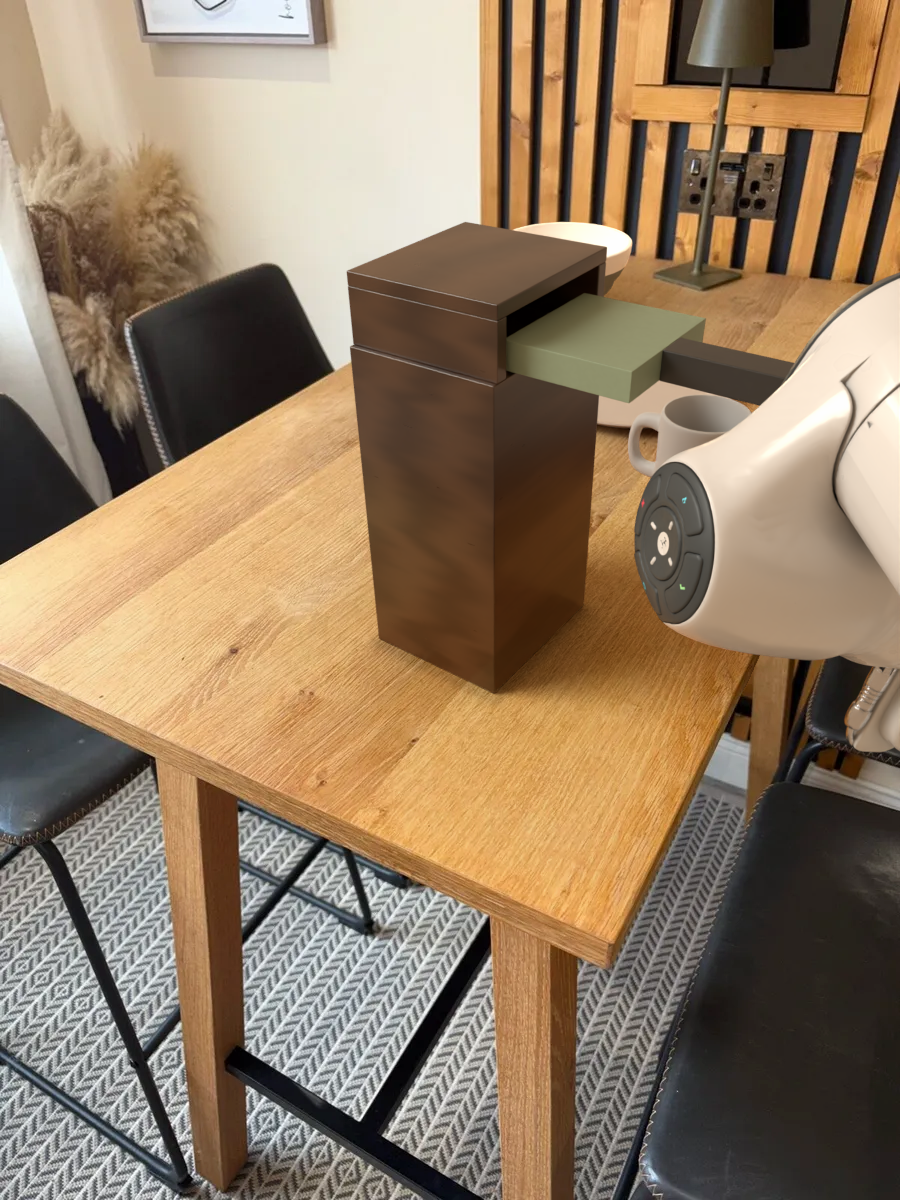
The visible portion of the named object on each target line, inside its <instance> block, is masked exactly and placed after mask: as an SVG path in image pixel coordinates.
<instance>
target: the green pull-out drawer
mask: <svg viewBox="0 0 900 1200" xmlns="http://www.w3.org/2000/svg"><path fill="white" fill-rule="evenodd" d="M706 321H707V318H706V317H701V316H697V315H692V314H689V313H688V314H687V313H682V312H678V311H673V310H668V309H665V308H664V309H663V308H658V307H654V306H649V305H645V304H640V303H636V302H635V303H634V302H631V301H630V302H629V301H624V300H619V299H615V298H611V297H606V296H604V297H601V296H596V295H592V294H587V293H583V294H582V295H580V296H578V297H576V298H575V299H573V300H571V301H569V302H568V303H566V304H564V305H563V306H561V307H559V308H557V309H556V310H554V311H552V312H550V313H549V314H547V315H545V316H543V317H542V318H540V319H538V320H536V321H535V322H533V323H531V324H529V325H528V326H526V327H524V328H522V329H521V330H519V331H517V332H516V333H514V334H512V335H510V336H509V337H507V338H506V371H510V372H513V373H517V374H521V375H524V376H528V377H532V378H536V379H539V380H543V381H547V382H551V383H554V384H558V385H562V386H566V387H569V388H573V389H577V390H580V391H584V392H588V393H592V394H595V395H599V396H603V397H607V398H610V399H614V400H618V401H622V402H625V403H631V402H632V401H633V400H634V399H636V398H637V397H638V396H640V395H641V394H642V393H644V392H645V391H646V390H647V389H649V388H650V387H651V386H653V385H654V384H655V383H657V382H658V381H659V380H660V381H662V382H666V383H670V384H674V385H678V386H682V387H686V388H690V389H694V390H698V391H702V392H706V393H710V394H714V395H718V396H722V397H726V398H730V399H732V400H735V401H737V402H742V403H746V404H751V405H755V406H757V407H759V406H760V405H761V404H762V403H763V402H765V401H766V400H767V399H768V398H769V397H770V396H771V395H772V394H773V393H774V392H775V391H776V390H777V389H778V388H779V387H780V386H781V384H782V383H783V381H784V379H785V378H786V376H787V374H788V373H789V371H790V369H791V368H792V366H793V364H794V363H795V362H793V361H788V360H783V359H778V358H774V357H771V356H765V355H760V354H757V353H753V352H748V351H747V352H746V351H743V350H738V349H734V348H729V347H724V346H720V345H715V344H713V343H712V344H711V343H706V342H704V336H705V328H706Z"/></svg>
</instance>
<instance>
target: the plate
mask: <svg viewBox="0 0 900 1200" xmlns="http://www.w3.org/2000/svg"><path fill="white" fill-rule="evenodd" d="M688 395H714V394H710V393H706V392H702V391H698V390H694V389H690V388H686V387H682V386H678V385H674V384H670V383H666V382H662V381H660V380H659V381H658V382H657V383H655V384H654V385H653V386H651V387H650V388H649V389H647V390H646V391H645V392H644V393H642V394H641V395H640V396H638V397H637V398H636V399H634V400H633V401H632V402H631V403H625V402H622V401H618V400H614V399H610V398H607V397H603V396H599V405H598V418H597V426H603V427H608V428H616V429H630V430H631V426H632V424H633V422H634V420H635V419H636V417H637V416H639V415H640V414H642V413H644V412H656V413H661V412H662V409H663V407H664V406H665V405H666V404H667V403H668V402H669V401H671V400H673V399H676V398H678V397H682V396H688ZM715 396H718V395H715ZM721 397H722V396H721ZM725 398H726V397H725ZM729 399H730V398H729ZM643 429H651V428H650V427H644V428H643Z"/></svg>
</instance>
